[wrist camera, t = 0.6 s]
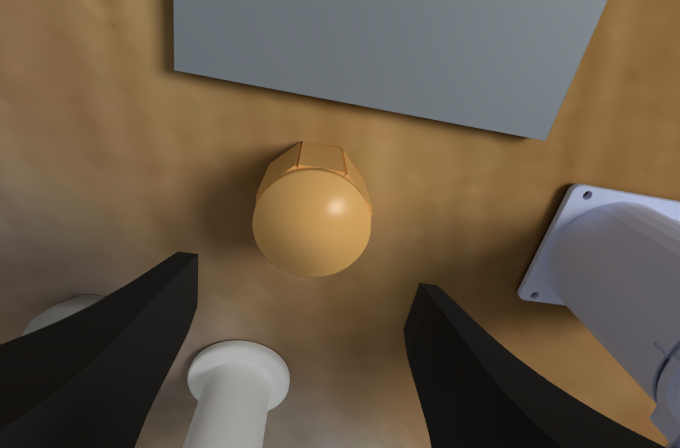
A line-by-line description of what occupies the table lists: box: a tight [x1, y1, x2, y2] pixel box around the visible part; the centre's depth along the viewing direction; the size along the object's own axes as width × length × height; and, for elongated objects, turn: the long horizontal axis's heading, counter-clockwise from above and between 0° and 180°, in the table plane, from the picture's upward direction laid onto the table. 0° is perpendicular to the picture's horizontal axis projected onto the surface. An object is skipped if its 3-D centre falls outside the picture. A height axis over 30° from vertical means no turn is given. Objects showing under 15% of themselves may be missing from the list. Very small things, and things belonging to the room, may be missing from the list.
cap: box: [252, 141, 373, 277], centre depth 18 cm, size 5×5×4 cm
